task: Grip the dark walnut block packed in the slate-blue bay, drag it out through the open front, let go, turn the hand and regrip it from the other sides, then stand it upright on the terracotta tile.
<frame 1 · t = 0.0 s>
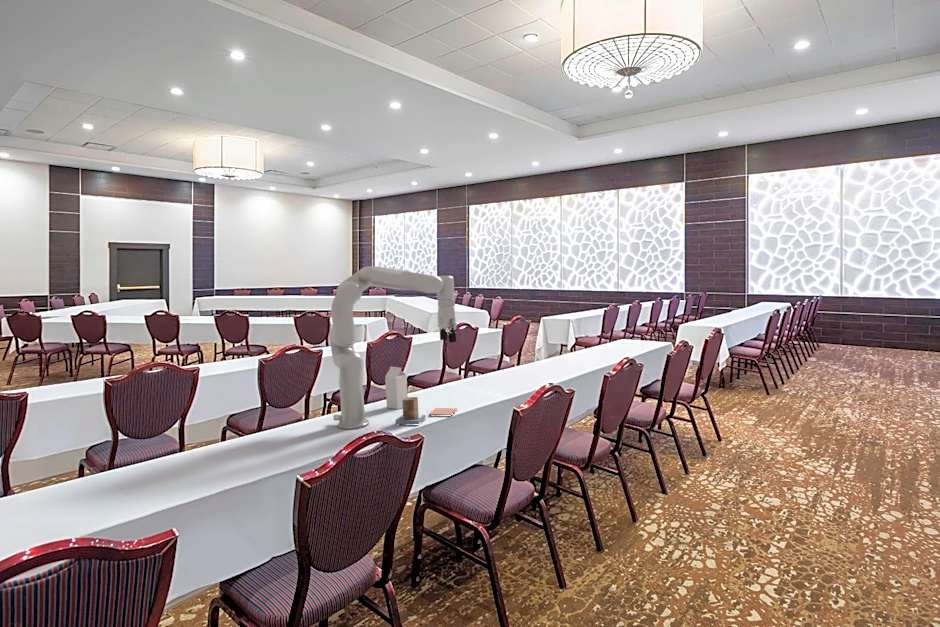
hand: (448, 341, 243), 31 cm above the table, tool pointing down, fingers open, 9 cm apart
walnut block: (410, 410, 227), in the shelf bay
terracotta tile: (443, 413, 239), on the table
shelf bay: (411, 421, 227), on the table
milk carton: (397, 407, 253), on the table
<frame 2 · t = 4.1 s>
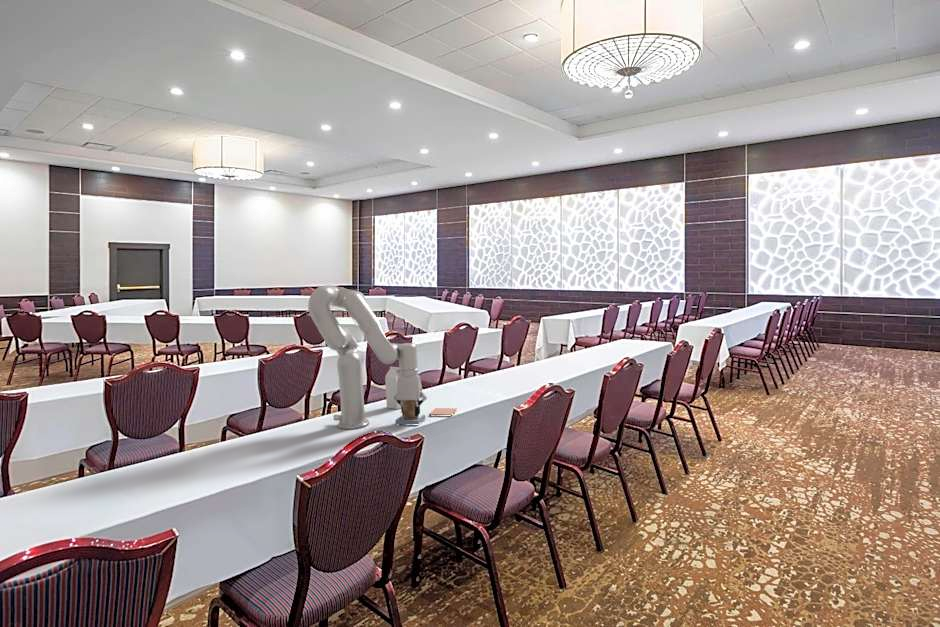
hand: (410, 414, 227), 3 cm above the table, tool pointing down, fingers closed on walnut block, 5 cm apart
walnut block: (410, 410, 227), in the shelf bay, touching gripper
everything else where it was.
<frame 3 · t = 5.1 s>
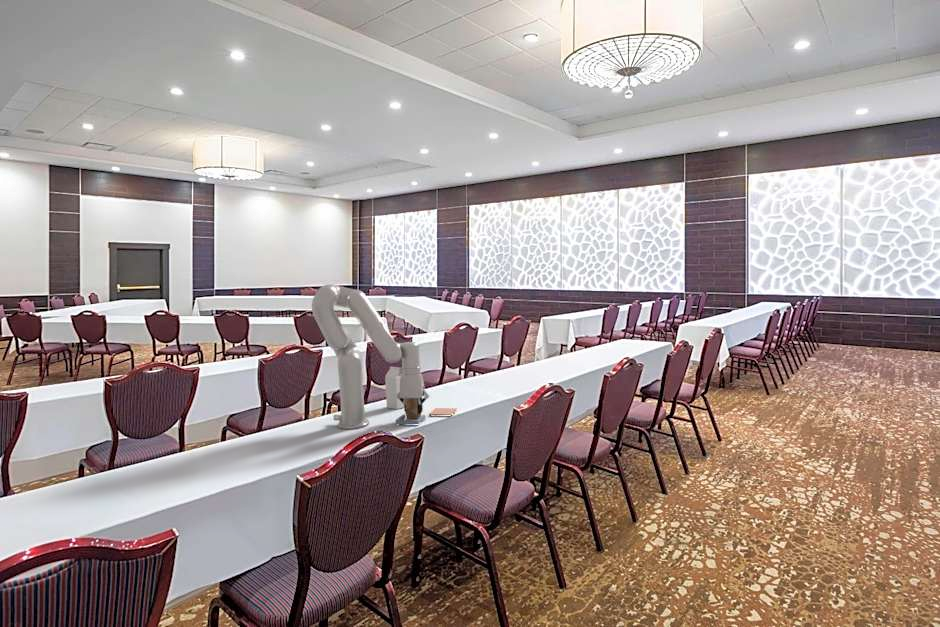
hand: (413, 412, 230), 3 cm above the table, tool pointing down, fingers closed on walnut block, 5 cm apart
walnut block: (413, 408, 230), in the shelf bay, touching gripper
everything else where it was.
when the fingers open (3 cm above the table, at t = 6.6 s): walnut block stays where it is, on the table.
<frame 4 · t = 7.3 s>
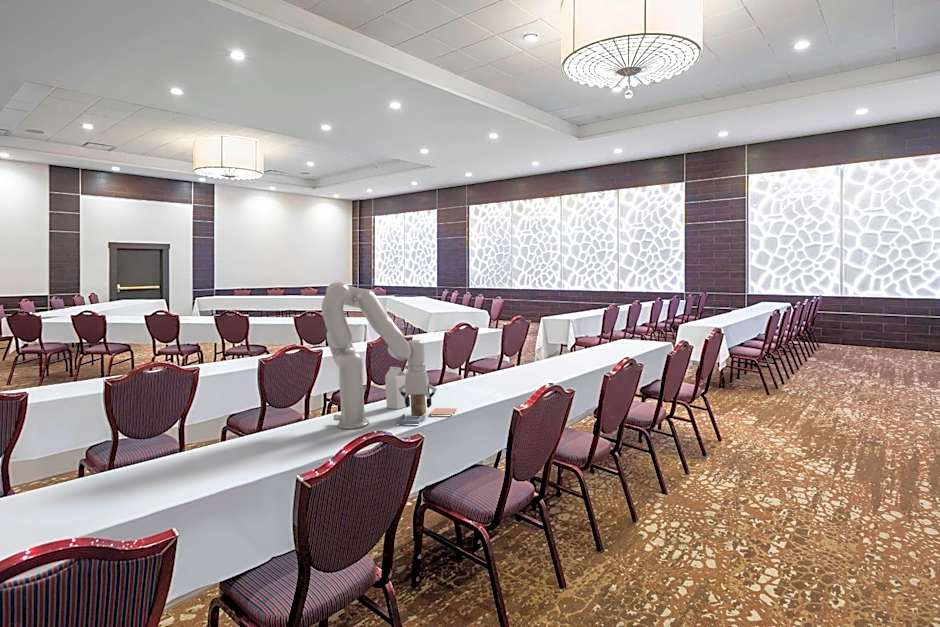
hand: (418, 406, 237), 4 cm above the table, tool pointing down, fingers open, 9 cm apart
walnut block: (418, 404, 237), on the table
everything else where it was.
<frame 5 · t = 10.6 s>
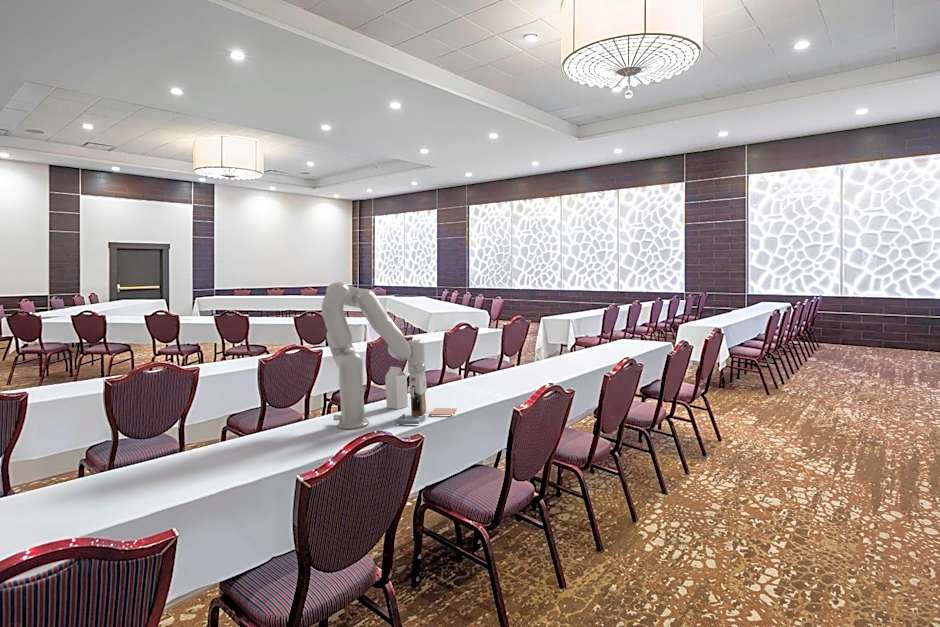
hand: (418, 408, 237), 3 cm above the table, tool pointing down, fingers closed on walnut block, 5 cm apart
walnut block: (418, 404, 237), on the table, touching gripper
everything else where it was.
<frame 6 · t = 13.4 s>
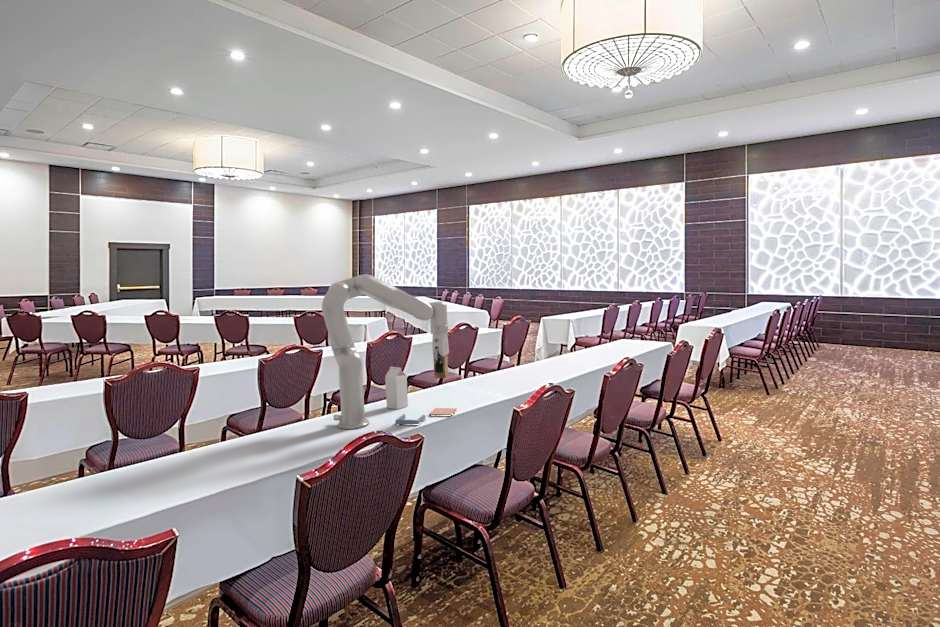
hand: (441, 370, 237), 19 cm above the table, tool pointing down, fingers closed on walnut block, 5 cm apart
walnut block: (441, 365, 237), point 21 cm above the table, touching gripper
everything else where it was.
when the fingers open (5 cm above the table, at t = 16.3 s): walnut block drops 1 cm, resting on terracotta tile.
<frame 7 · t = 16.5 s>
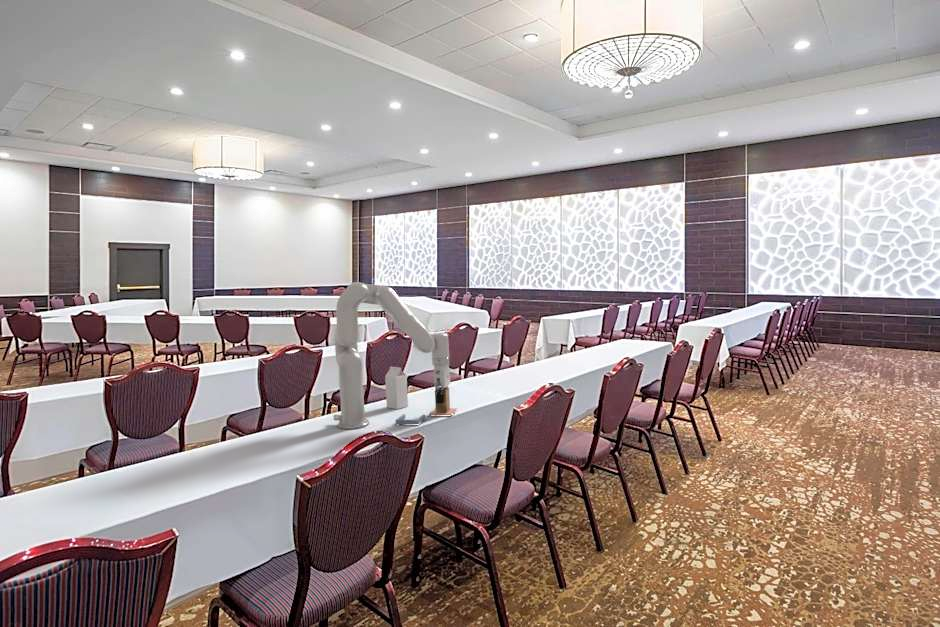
hand: (442, 400, 238), 6 cm above the table, tool pointing down, fingers open, 7 cm apart
walnut block: (442, 400, 238), on the terracotta tile, point 6 cm above the table
everything else where it was.
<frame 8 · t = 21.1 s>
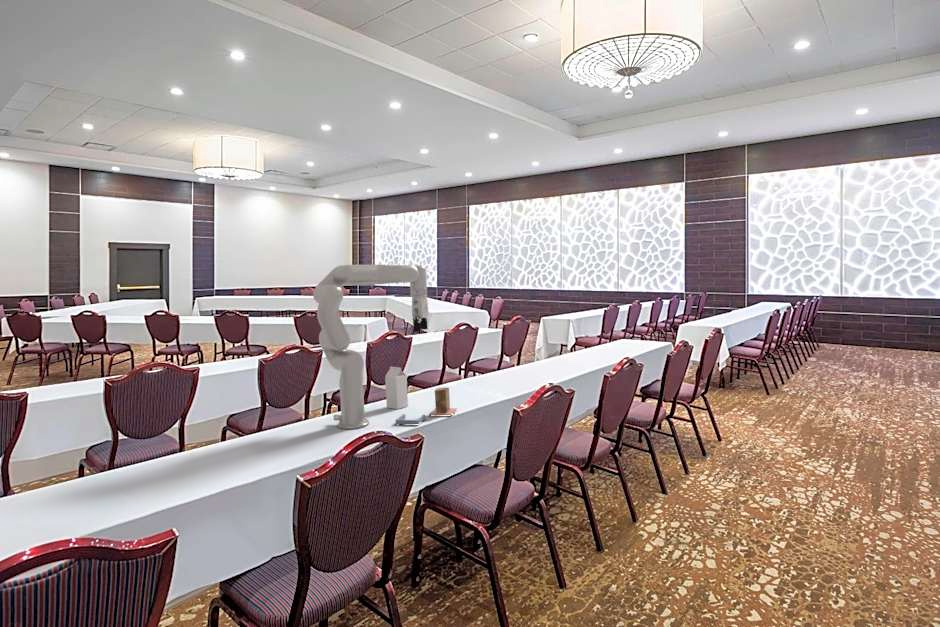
hand: (420, 330, 245), 36 cm above the table, tool pointing down, fingers open, 9 cm apart
nothing on the table moved.
at the end: walnut block 0.1 cm off-centre on the terracotta tile, point 6.0 cm above the terracotta tile's base; walnut block tilted 0°; the gripper is holding nothing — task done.
